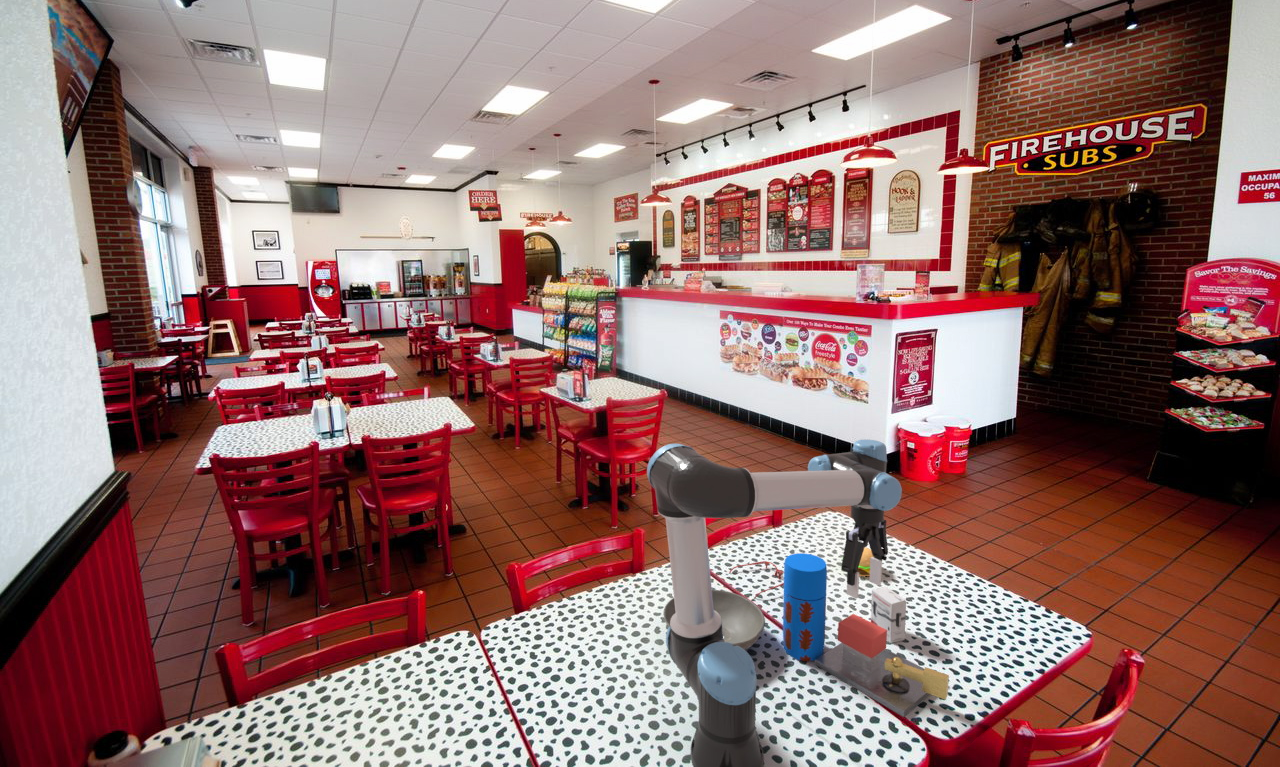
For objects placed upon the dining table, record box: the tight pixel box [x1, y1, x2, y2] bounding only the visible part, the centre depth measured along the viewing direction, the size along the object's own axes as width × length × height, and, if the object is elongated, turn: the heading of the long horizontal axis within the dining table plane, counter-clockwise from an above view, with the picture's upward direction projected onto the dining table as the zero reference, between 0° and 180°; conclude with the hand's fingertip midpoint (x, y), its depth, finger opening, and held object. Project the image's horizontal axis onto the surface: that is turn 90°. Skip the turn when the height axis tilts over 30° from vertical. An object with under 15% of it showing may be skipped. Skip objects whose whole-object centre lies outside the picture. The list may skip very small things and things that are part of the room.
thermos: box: [782, 552, 828, 662], centre depth 156 cm, size 11×11×25 cm
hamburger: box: [853, 546, 874, 578], centre depth 199 cm, size 12×12×9 cm
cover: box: [837, 613, 888, 658], centre depth 149 cm, size 6×10×5 cm
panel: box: [814, 642, 931, 718], centre depth 147 cm, size 18×24×6 cm
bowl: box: [662, 589, 766, 651], centre depth 162 cm, size 27×28×8 cm
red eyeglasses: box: [728, 560, 784, 599], centre depth 192 cm, size 17×16×5 cm
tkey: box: [885, 657, 950, 700], centre depth 138 cm, size 14×2×6 cm, turn 52°
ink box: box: [870, 586, 907, 644], centre depth 164 cm, size 8×5×12 cm, turn 17°
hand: (864, 589), depth 147 cm, fingers open, 9 cm apart
